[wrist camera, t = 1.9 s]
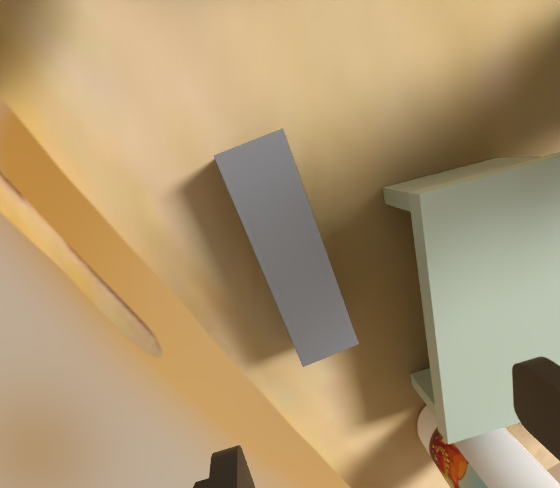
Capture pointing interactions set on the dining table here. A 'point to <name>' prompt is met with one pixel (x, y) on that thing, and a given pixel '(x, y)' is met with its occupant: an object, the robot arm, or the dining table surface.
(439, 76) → the dining table surface
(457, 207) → the sage shelf
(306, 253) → the grey rectangular brick
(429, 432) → the milk bottle
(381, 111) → the dining table surface
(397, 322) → the dining table surface
